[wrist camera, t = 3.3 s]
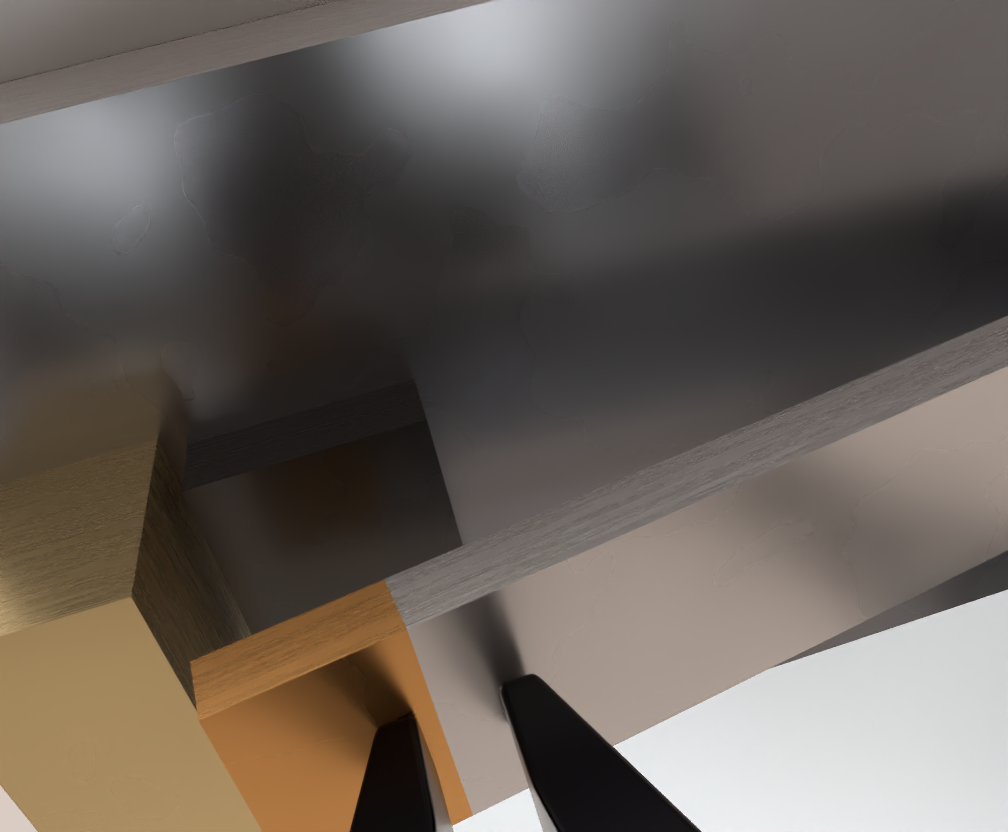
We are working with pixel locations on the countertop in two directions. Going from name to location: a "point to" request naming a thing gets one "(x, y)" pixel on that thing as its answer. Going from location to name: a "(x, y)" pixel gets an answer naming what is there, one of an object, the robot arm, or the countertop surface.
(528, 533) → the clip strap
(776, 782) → the countertop surface
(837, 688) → the countertop surface
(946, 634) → the countertop surface
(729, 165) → the grey lever base
